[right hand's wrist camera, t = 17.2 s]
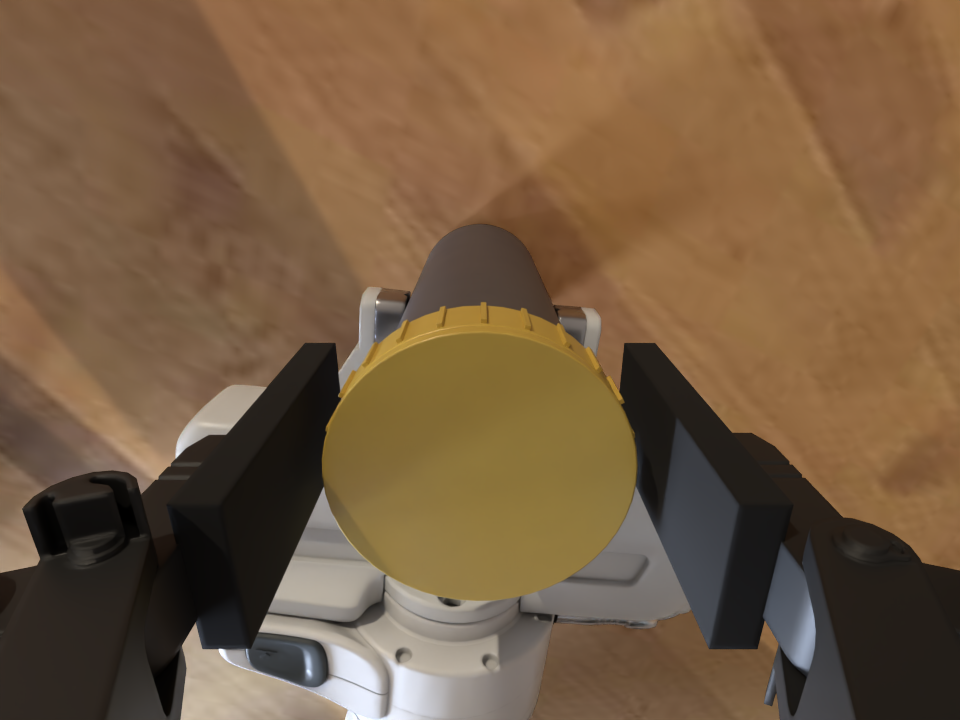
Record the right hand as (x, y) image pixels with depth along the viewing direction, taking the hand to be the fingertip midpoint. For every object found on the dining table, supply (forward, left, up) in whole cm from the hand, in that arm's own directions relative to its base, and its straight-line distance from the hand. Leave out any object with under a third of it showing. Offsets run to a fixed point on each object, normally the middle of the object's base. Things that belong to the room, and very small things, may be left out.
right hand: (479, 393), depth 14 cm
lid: (0, 0, +4) cm, 4 cm away
